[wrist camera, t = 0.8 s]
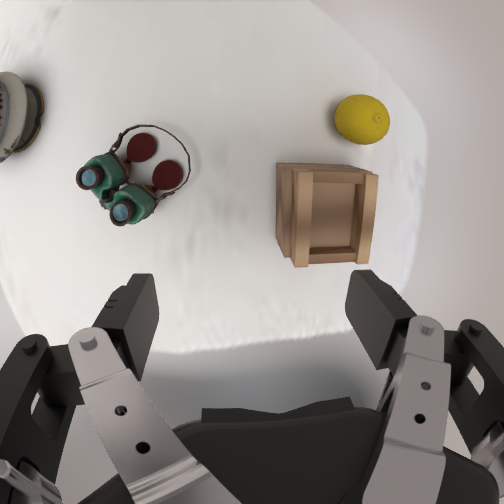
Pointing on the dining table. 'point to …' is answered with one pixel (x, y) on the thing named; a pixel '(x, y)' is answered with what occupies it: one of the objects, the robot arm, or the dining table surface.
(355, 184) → the wooden crate
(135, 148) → the binoculars
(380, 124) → the lemon
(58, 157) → the dining table surface
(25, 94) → the apothecary jar
